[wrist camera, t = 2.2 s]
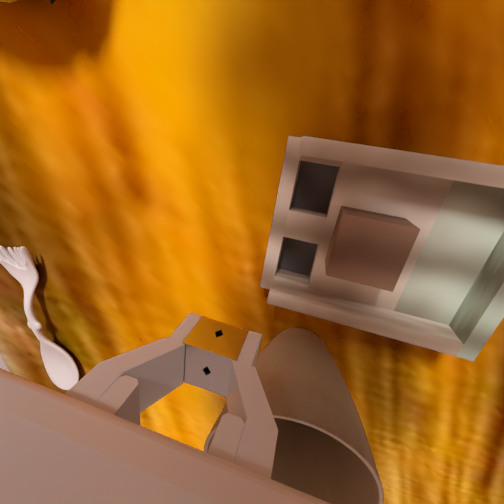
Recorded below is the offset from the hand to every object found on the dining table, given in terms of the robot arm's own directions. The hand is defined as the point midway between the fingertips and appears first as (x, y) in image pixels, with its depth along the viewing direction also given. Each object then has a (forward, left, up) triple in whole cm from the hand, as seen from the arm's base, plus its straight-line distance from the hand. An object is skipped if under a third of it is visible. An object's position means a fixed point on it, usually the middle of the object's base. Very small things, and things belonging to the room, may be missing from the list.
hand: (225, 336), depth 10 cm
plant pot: (+18, +6, -21) cm, 28 cm away
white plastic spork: (+29, -41, -22) cm, 55 cm away
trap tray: (0, +10, -21) cm, 23 cm away
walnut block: (0, +8, -19) cm, 20 cm away
